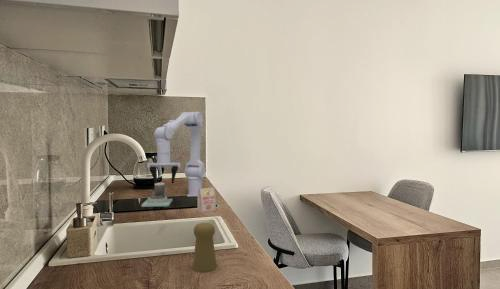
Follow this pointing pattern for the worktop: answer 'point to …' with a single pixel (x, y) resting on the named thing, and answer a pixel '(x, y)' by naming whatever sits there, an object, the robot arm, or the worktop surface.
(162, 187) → the lens barrel
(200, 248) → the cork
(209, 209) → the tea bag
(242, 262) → the worktop surface
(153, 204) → the plate
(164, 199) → the collar mount
